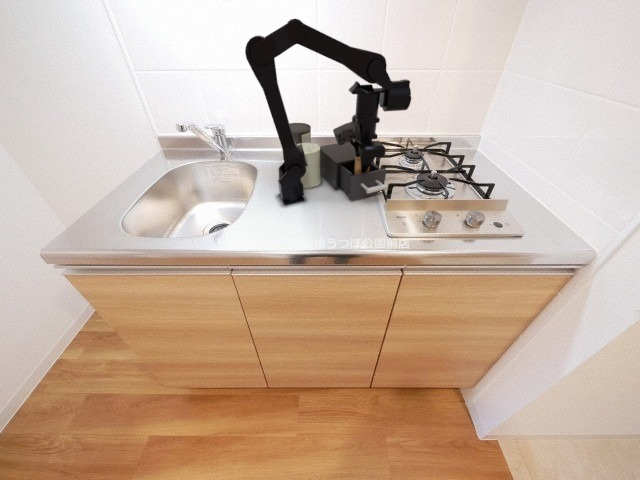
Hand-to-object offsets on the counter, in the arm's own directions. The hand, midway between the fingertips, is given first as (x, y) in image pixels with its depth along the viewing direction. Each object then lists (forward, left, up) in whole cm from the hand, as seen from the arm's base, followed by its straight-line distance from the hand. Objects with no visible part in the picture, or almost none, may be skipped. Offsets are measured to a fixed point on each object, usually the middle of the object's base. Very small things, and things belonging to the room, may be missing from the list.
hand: (361, 169), depth 75 cm
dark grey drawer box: (0, +11, -8) cm, 14 cm away
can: (-12, +13, -8) cm, 20 cm away
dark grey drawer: (0, 0, -7) cm, 7 cm away
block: (0, 0, -1) cm, 1 cm away
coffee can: (-11, +26, -8) cm, 30 cm away
